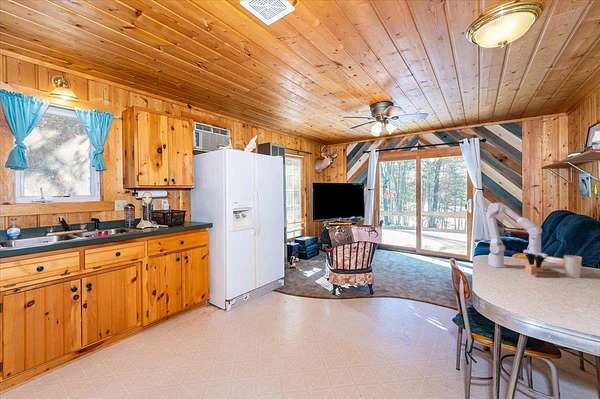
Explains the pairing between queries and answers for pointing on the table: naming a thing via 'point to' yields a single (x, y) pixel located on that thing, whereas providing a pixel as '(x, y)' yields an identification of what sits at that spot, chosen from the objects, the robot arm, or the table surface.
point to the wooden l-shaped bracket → (547, 273)
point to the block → (533, 269)
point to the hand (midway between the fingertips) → (535, 266)
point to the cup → (572, 266)
